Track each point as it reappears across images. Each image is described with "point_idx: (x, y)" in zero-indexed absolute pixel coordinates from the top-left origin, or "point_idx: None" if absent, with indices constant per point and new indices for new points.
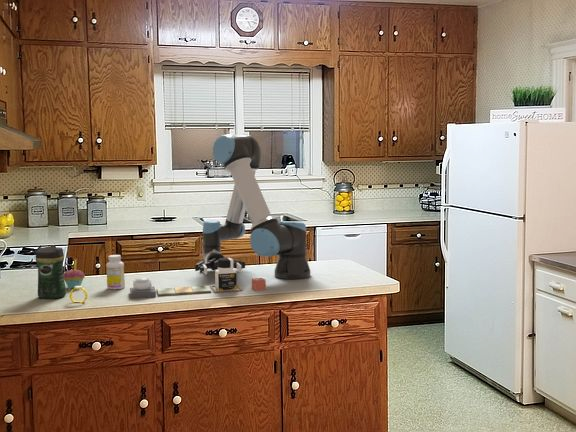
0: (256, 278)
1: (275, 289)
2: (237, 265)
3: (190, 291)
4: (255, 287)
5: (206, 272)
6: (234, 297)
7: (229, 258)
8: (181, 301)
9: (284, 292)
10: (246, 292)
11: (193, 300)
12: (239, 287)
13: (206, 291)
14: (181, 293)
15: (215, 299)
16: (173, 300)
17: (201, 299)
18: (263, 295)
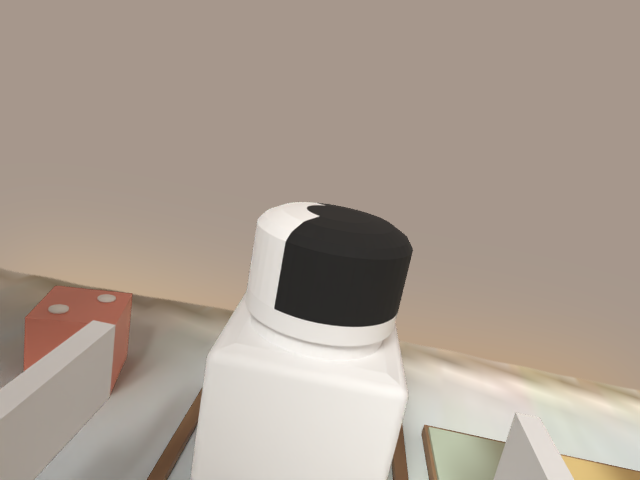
0: (77, 317)
1: (4, 328)
2: (18, 431)
3: (576, 466)
4: (126, 344)
5: (504, 467)
6: None
7: (303, 204)
8: (572, 383)
9: (36, 287)
10: (206, 356)
11: (514, 372)
12: (185, 427)
13: (456, 434)
14: (632, 471)
15: (406, 344)
16: (625, 410)
17: (475, 368)
18: (168, 300)
